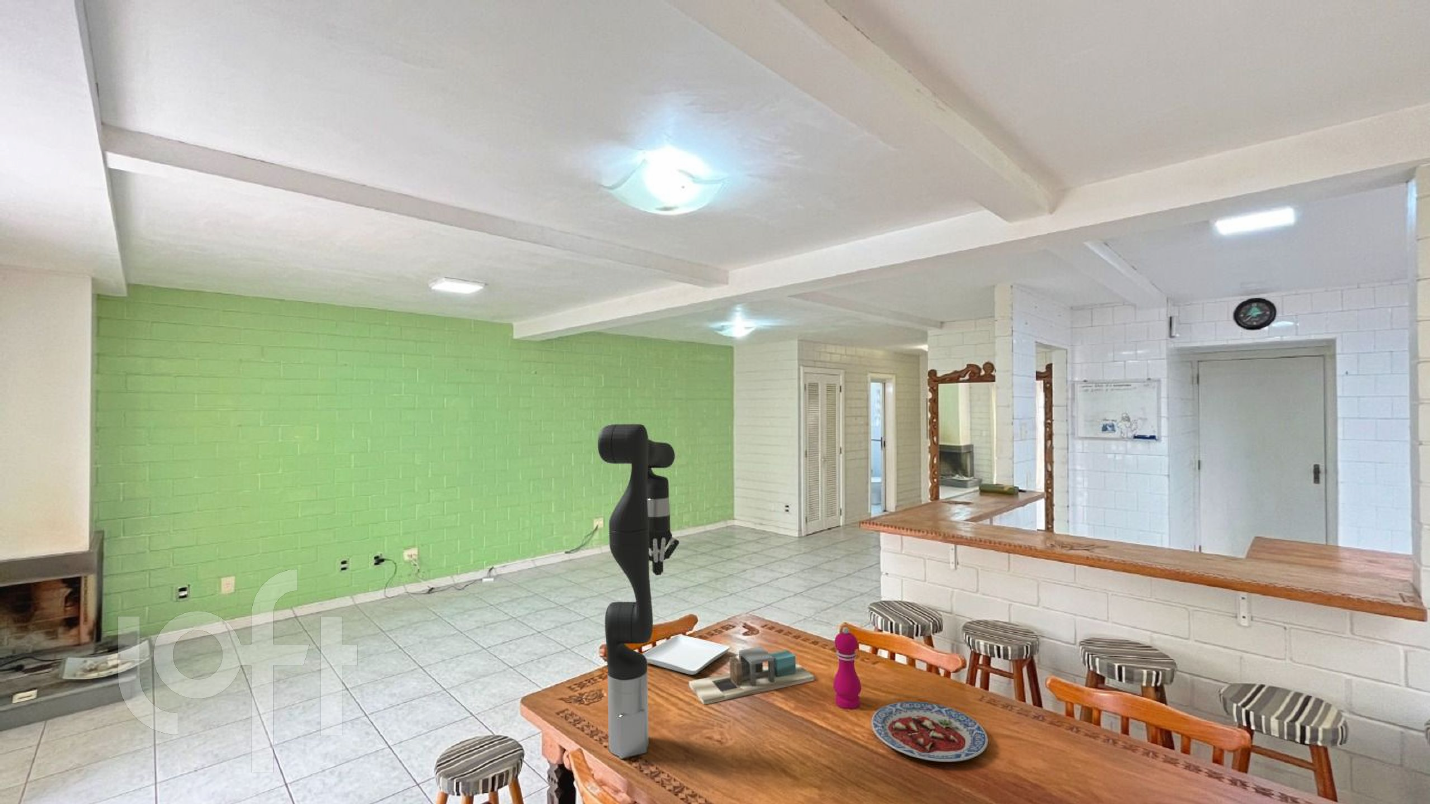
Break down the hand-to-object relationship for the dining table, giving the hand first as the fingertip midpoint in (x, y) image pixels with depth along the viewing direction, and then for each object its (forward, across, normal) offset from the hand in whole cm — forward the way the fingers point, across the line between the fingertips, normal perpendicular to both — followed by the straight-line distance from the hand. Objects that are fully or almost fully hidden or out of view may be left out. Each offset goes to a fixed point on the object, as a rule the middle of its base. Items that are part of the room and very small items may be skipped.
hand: (658, 574), depth 166 cm
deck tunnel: (+32, +26, -8) cm, 42 cm away
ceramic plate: (+32, +51, -50) cm, 78 cm away
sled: (+31, +29, -8) cm, 43 cm away
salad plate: (+33, +13, +15) cm, 38 cm away
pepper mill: (+32, +43, -29) cm, 61 cm away
